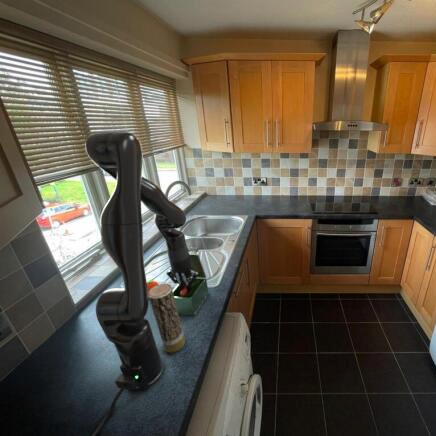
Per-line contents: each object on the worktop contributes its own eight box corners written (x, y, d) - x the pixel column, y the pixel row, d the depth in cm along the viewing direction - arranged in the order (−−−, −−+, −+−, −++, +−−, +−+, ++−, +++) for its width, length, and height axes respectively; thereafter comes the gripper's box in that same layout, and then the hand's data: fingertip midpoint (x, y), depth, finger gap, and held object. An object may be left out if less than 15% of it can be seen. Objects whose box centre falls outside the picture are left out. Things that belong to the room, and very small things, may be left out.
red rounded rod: (184, 297, 98) (183, 293, 97) (179, 296, 98) (178, 292, 98) (193, 284, 106) (192, 281, 105) (189, 284, 106) (188, 280, 105)
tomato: (147, 289, 114) (143, 277, 112) (163, 287, 116) (159, 275, 113) (142, 300, 107) (138, 288, 104) (158, 298, 109) (155, 285, 106)
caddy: (194, 315, 99) (191, 299, 96) (171, 313, 100) (166, 297, 97) (208, 293, 111) (206, 278, 108) (187, 292, 112) (184, 276, 109)
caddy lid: (197, 255, 99) (203, 245, 104) (173, 253, 100) (180, 244, 105) (205, 278, 107) (210, 268, 112) (183, 276, 109) (189, 266, 114)
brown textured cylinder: (179, 334, 90) (165, 280, 81) (188, 344, 86) (175, 289, 77) (161, 346, 86) (144, 291, 76) (170, 357, 82) (153, 300, 72)
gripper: (157, 260, 92) (166, 295, 99) (190, 262, 91) (197, 297, 98) (168, 250, 99) (176, 284, 106) (199, 252, 98) (205, 286, 105)
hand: (186, 290), depth 102 cm, fingers closed on red rounded rod, 2 cm apart
